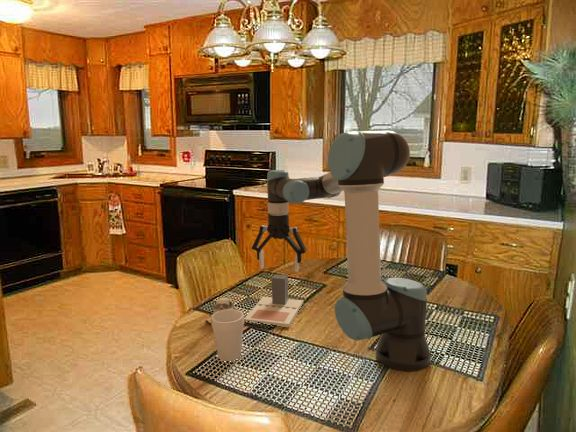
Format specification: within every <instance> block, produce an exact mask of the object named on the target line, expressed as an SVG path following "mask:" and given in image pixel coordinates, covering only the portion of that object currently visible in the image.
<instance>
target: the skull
mask: <svg viewBox="0 0 576 432" xmlns="http://www.w3.org/2000/svg"><path fill="white" fill-rule="evenodd" d="M225 309H235V303H234V302H233V301H232V300H231V299H229V298H228V297H221V298H219V299H218V300H216V303H215V305H214V311H213V313H215V312H217V311H220V310H225Z"/></svg>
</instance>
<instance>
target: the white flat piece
mask: <svg viewBox="0 0 576 432" xmlns="http://www.w3.org/2000/svg"><path fill="white" fill-rule="evenodd" d="M298 311H299V312H300V310H299V309H298V308H289V307H279V306H269V305H259V304H257V303H256V305H254V307H253V308H252V309H251V310H250V311H249V312H248V313H247V315H246V316H244V321H251V322H252V321H253V322H261V323H267V324H273V325H277V326H283V327H289V326H290V325H291V326H292V324H291V323H293V322H294V321H293V320H295V319H296V317H297V316H298V314H299V312H298ZM297 313H298V314H297ZM296 315H297V316H296ZM295 316H296V317H295ZM294 318H295V319H294ZM291 326H290V327H291ZM290 327H289V328H290Z"/></svg>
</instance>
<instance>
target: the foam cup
mask: <svg viewBox="0 0 576 432" xmlns="http://www.w3.org/2000/svg"><path fill="white" fill-rule="evenodd" d="M211 315H212V316H211ZM211 315H210V316H211V324H210V325H211V327H212V332H213V336H214V342H215V346H216V351H217V357H218V360H219V359H220V360H222V361H234V360H236V359H238V358H239V357H240V358H241V354H242V353H241V352H242V343H243V333H244V324H245V323H244V319H245V315H244V312H242V311H241V310H238V309H235V308H234V309H225V310H220V311H217V312H215V313H214V312H213V313H212V314H211ZM240 358H239V359H240ZM239 359H238V360H239ZM220 360H219V361H220Z"/></svg>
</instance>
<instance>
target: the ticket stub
mask: <svg viewBox="0 0 576 432" xmlns="http://www.w3.org/2000/svg"><path fill="white" fill-rule="evenodd" d="M271 296H272V297H270V296H263V297H261V299H259V301H258V302H257V303H256V305H257V304H259V305H269V306H279V307H289V308H298V309H300V308H301V309H302V307H303V306H302V304H303V305H304V300H303V299H302V300H301V299H292V298H289V276H288V275H286V274H274V275H273V276H272V277H271ZM301 306H302V307H301ZM301 309H300V310H301Z"/></svg>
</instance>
